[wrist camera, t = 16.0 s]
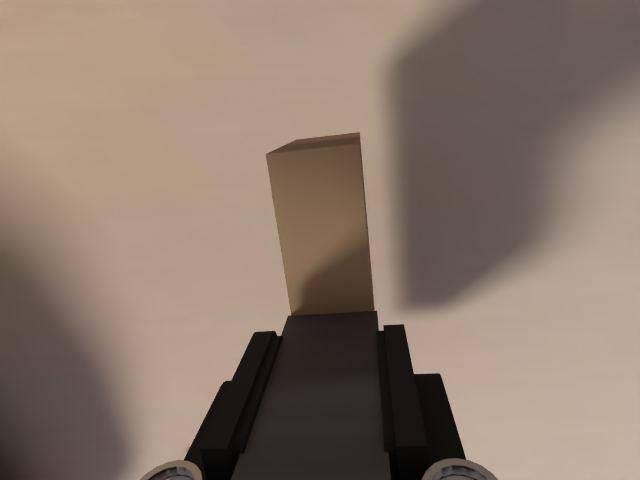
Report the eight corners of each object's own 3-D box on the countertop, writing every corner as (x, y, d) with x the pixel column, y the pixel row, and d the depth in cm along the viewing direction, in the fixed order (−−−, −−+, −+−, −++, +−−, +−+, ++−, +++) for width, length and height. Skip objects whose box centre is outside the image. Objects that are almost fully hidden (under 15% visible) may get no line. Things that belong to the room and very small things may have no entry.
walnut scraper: (293, 140, 15) (133, 214, 4) (362, 131, 14) (366, 191, 4) (328, 398, 18) (287, 774, 8) (383, 397, 18) (416, 787, 8)
